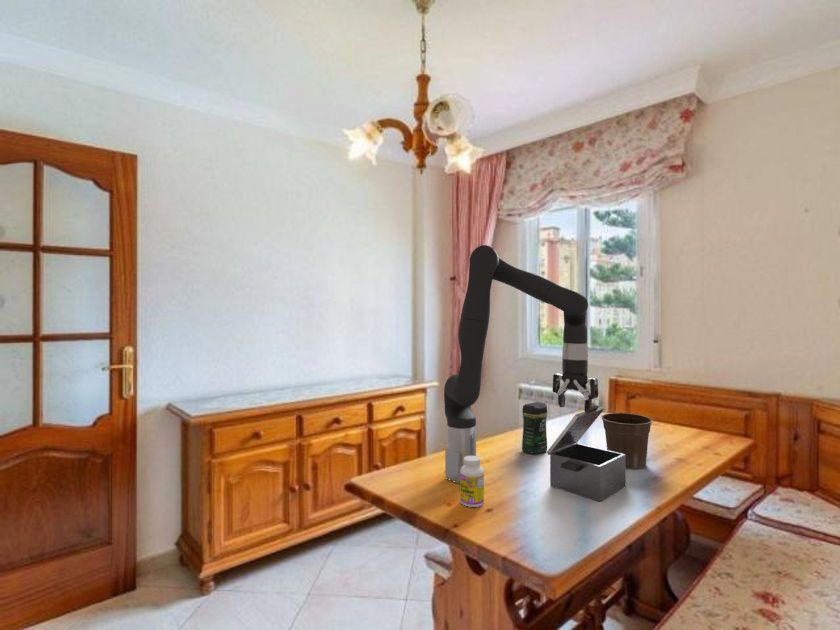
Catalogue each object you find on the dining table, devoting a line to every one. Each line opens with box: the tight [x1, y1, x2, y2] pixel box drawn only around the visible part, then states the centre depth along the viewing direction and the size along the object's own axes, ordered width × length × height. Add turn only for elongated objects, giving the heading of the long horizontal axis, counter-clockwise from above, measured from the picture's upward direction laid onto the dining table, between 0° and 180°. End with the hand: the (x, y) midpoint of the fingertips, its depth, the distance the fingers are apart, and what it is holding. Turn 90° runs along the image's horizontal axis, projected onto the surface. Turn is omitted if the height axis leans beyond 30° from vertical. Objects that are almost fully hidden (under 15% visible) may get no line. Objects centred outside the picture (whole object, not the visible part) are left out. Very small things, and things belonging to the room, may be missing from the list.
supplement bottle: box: [459, 455, 485, 508], centre depth 130 cm, size 7×7×13 cm
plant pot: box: [600, 412, 653, 470], centre depth 161 cm, size 16×16×16 cm
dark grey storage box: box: [549, 442, 627, 503], centre depth 141 cm, size 22×16×10 cm
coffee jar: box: [521, 401, 548, 455], centre depth 176 cm, size 10×8×19 cm
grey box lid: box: [546, 404, 606, 456], centre depth 144 cm, size 16×19×2 cm
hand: (574, 409), depth 144 cm, fingers open, 8 cm apart
